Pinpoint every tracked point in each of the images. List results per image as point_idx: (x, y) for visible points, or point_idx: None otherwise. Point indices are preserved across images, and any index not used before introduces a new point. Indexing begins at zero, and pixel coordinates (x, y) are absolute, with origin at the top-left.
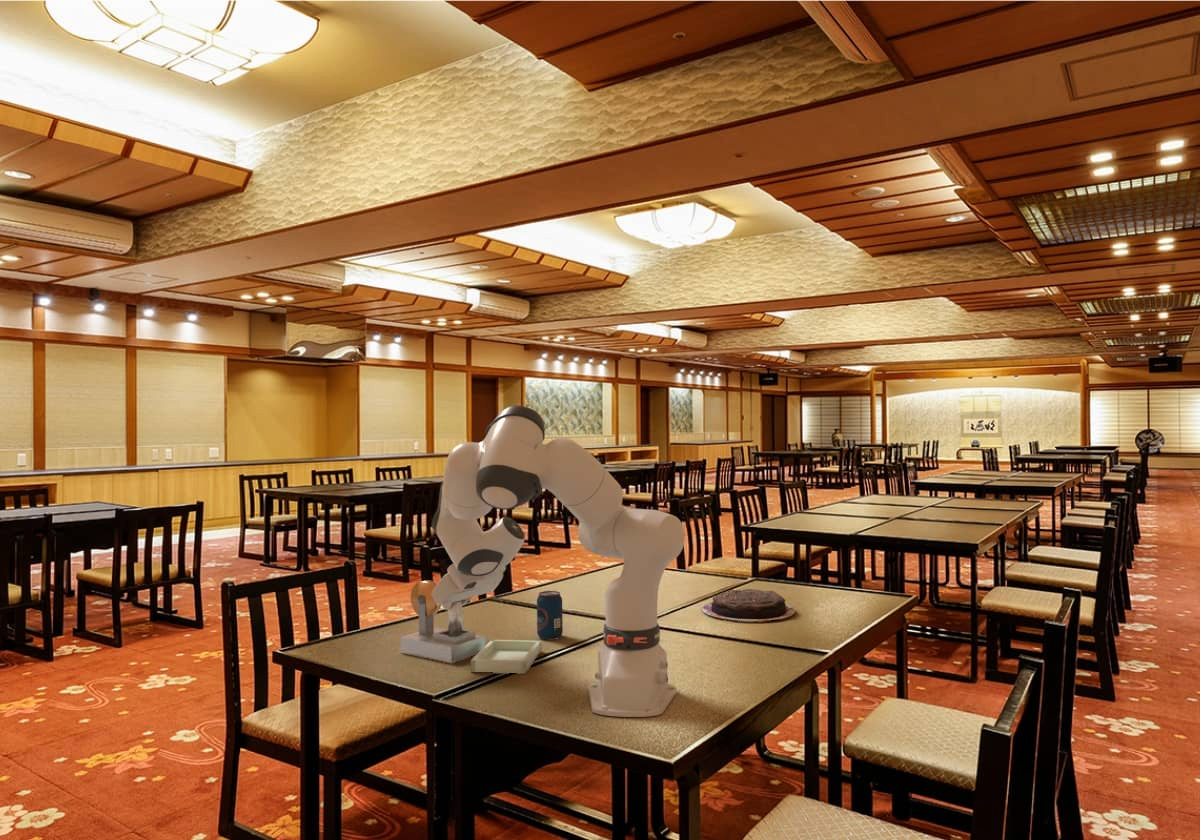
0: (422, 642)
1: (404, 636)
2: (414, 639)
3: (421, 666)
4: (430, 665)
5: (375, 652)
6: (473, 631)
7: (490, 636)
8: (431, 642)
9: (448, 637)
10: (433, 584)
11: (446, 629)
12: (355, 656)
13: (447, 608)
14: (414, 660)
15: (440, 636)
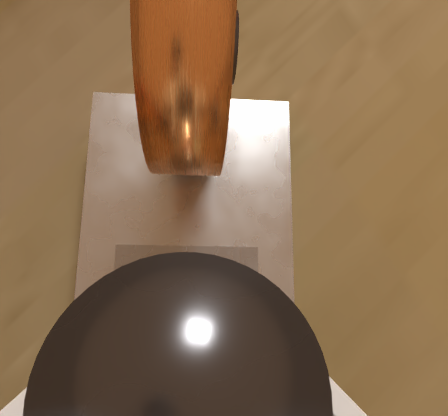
0: (82, 224)
1: (106, 100)
2: (89, 170)
3: (7, 314)
4: (33, 335)
5: (72, 45)
6: None
7: (439, 251)
8: (84, 273)
9: None
10: (201, 33)
11: (282, 173)
12: (3, 23)
13: None
14: (57, 232)
15: None
